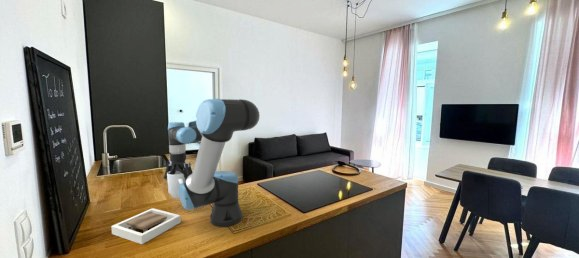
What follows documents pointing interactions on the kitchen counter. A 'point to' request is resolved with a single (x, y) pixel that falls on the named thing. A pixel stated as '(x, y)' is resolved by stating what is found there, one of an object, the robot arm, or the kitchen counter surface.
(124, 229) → the face frame
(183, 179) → the mug
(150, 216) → the brown piece
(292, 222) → the kitchen counter surface
